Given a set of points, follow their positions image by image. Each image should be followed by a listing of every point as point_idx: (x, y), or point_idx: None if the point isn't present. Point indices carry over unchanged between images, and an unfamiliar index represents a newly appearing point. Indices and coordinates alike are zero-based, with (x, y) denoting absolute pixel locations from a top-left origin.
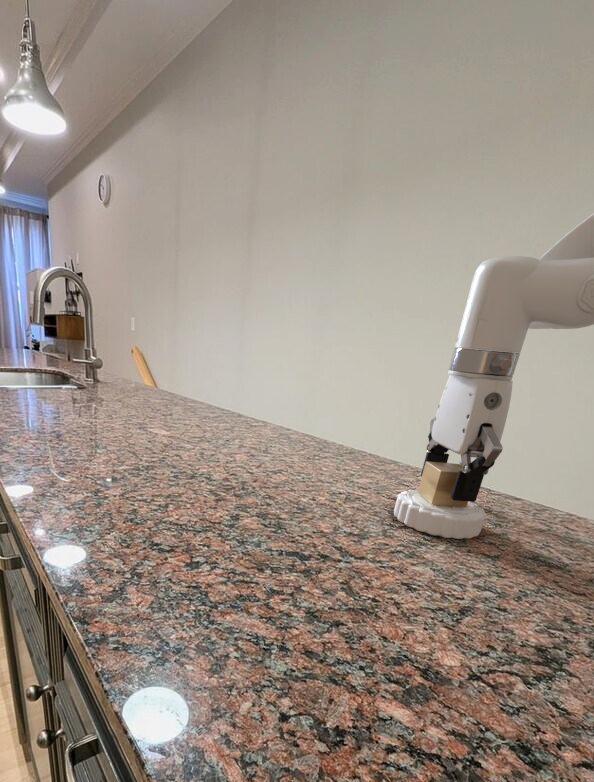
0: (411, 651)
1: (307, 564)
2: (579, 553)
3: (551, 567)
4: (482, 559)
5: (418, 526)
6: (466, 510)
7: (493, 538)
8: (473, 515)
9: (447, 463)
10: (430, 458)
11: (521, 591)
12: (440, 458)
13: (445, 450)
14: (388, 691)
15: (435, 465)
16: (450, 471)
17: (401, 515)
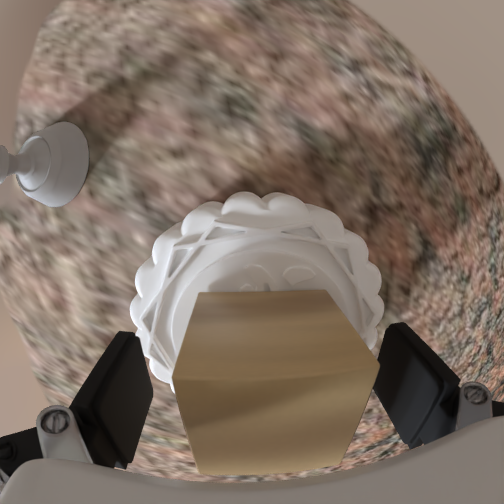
0: (492, 389)
1: None
2: (374, 28)
3: (449, 151)
4: (431, 278)
5: None
6: (340, 292)
7: (341, 183)
8: (360, 276)
9: (195, 427)
10: (132, 446)
11: (490, 268)
12: (115, 420)
13: (82, 434)
14: (498, 398)
15: (261, 469)
16: (346, 447)
17: None
